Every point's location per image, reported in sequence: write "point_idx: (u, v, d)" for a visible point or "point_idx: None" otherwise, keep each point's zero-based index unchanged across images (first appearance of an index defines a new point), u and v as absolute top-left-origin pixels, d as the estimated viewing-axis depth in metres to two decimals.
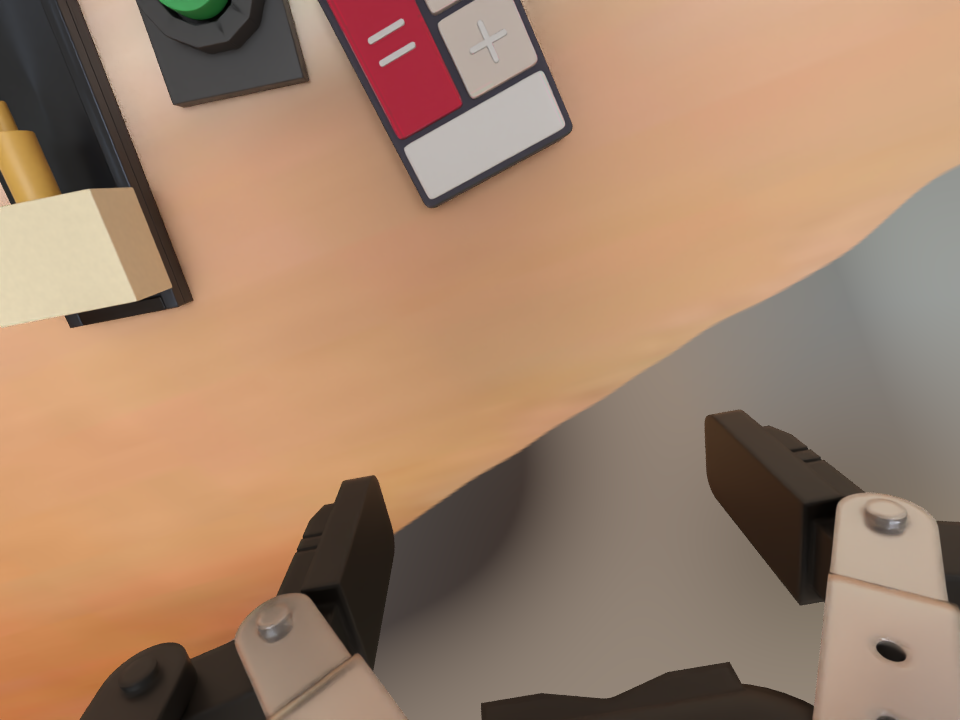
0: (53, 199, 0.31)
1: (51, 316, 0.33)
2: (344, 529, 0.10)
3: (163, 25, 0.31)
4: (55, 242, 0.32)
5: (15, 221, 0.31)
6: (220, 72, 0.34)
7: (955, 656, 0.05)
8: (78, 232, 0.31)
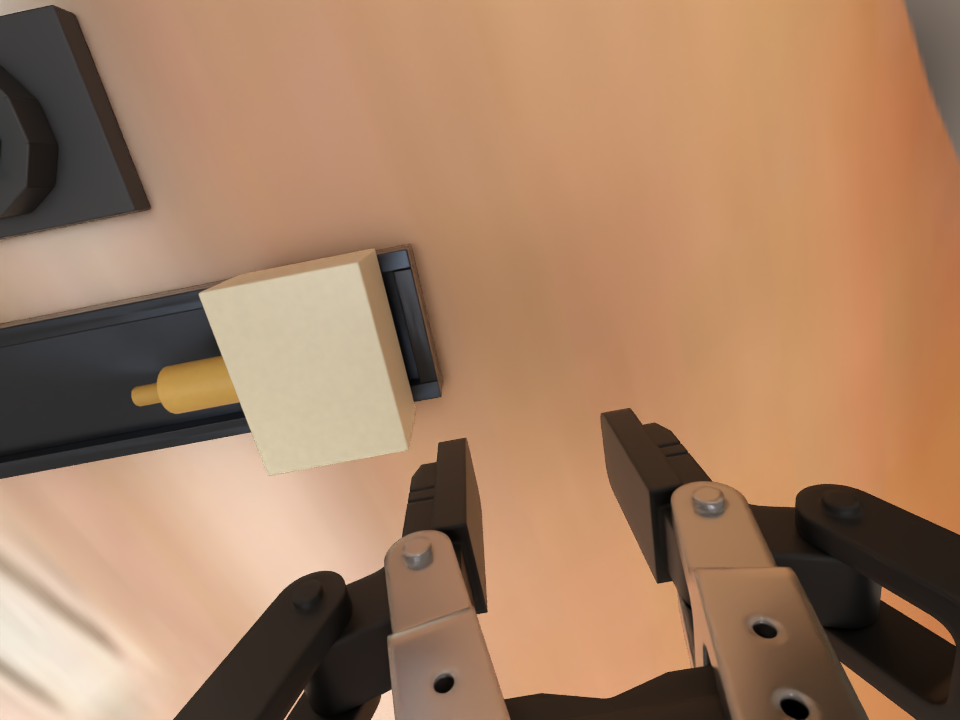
0: (220, 342, 0.22)
1: (389, 385, 0.23)
2: (455, 481, 0.11)
3: (14, 186, 0.24)
4: (280, 355, 0.23)
5: (258, 396, 0.23)
6: (77, 135, 0.25)
7: (808, 616, 0.06)
8: (261, 320, 0.22)
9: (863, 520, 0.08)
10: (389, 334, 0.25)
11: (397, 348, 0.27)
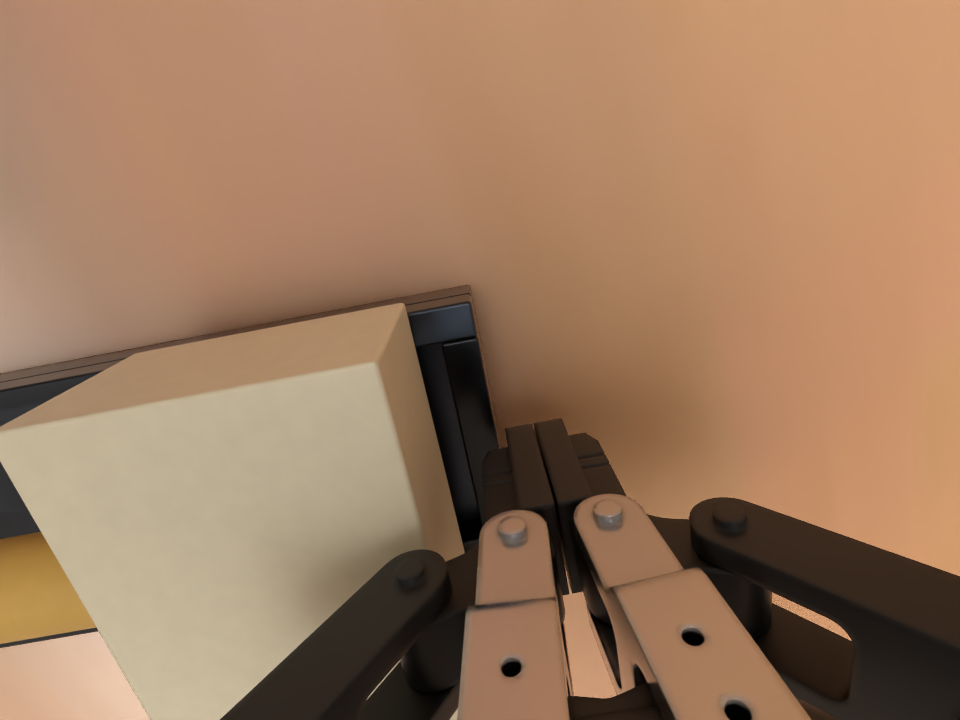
0: (53, 540, 0.10)
1: None
2: (532, 464, 0.11)
3: None
4: (196, 563, 0.10)
5: (151, 643, 0.11)
6: None
7: (725, 613, 0.06)
8: (146, 494, 0.09)
9: (747, 534, 0.08)
10: (434, 480, 0.12)
11: (445, 492, 0.14)
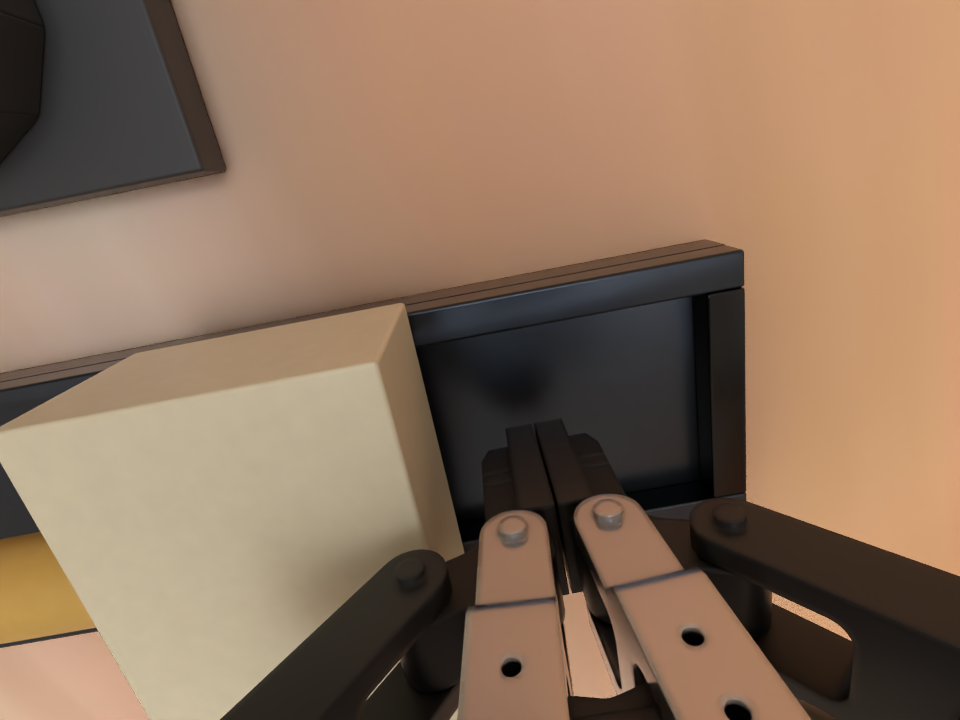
0: (53, 540, 0.10)
1: None
2: (532, 464, 0.11)
3: None
4: (196, 563, 0.10)
5: (151, 643, 0.11)
6: (87, 5, 0.12)
7: (725, 613, 0.06)
8: (146, 494, 0.09)
9: (746, 534, 0.08)
10: (434, 480, 0.12)
11: (445, 492, 0.14)
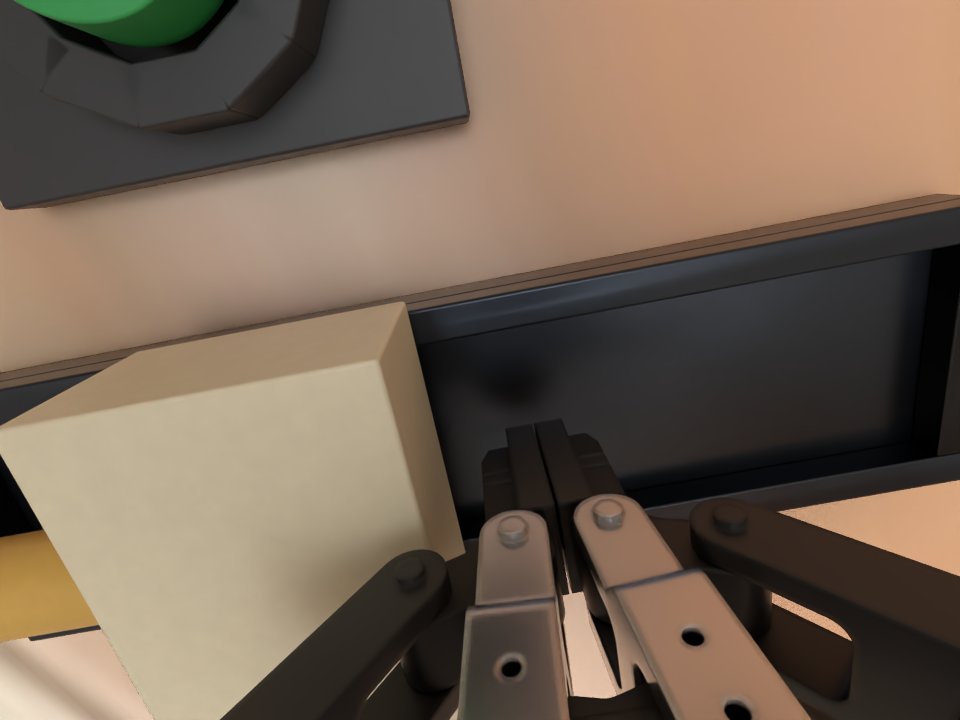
0: (56, 537, 0.10)
1: None
2: (532, 464, 0.11)
3: (266, 39, 0.10)
4: (198, 559, 0.10)
5: (153, 639, 0.11)
6: None
7: (725, 613, 0.06)
8: (148, 491, 0.09)
9: (746, 534, 0.08)
10: (435, 478, 0.12)
11: (446, 490, 0.14)
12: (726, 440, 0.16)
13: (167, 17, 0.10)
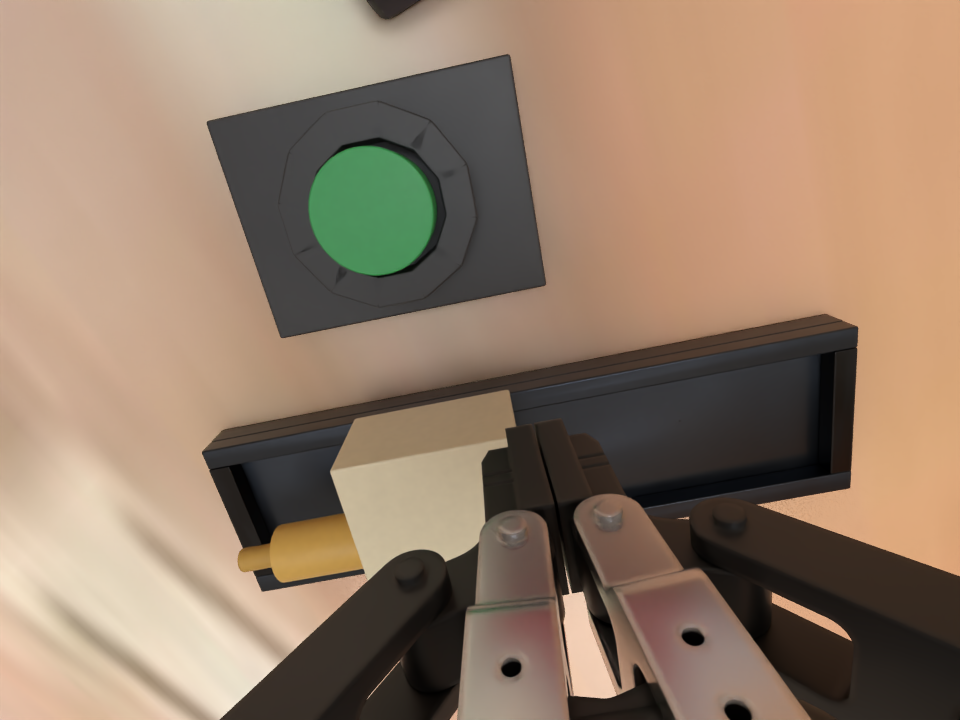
0: (351, 521, 0.19)
1: None
2: (532, 464, 0.11)
3: (448, 266, 0.20)
4: (419, 533, 0.20)
5: None
6: (501, 202, 0.21)
7: (726, 613, 0.06)
8: (400, 499, 0.19)
9: (746, 534, 0.08)
10: None
11: None
12: (699, 464, 0.26)
13: None
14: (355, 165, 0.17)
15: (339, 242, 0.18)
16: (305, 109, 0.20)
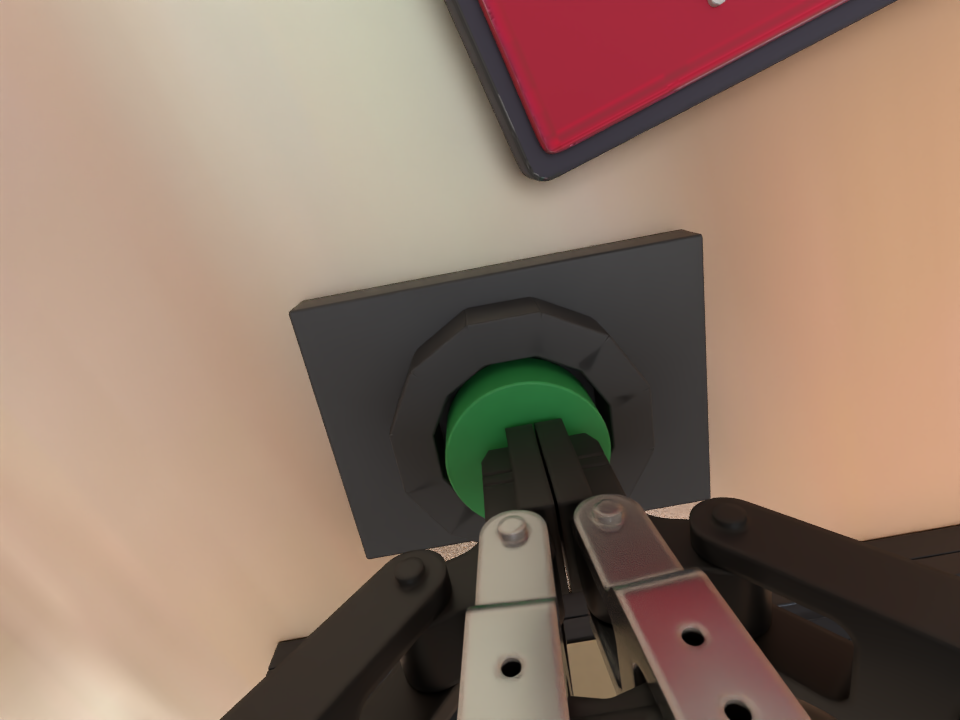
0: None
1: None
2: (532, 464, 0.11)
3: None
4: None
5: None
6: (668, 408, 0.16)
7: (726, 613, 0.06)
8: None
9: (747, 534, 0.08)
10: None
11: None
12: None
13: None
14: (515, 404, 0.13)
15: (482, 491, 0.14)
16: (424, 298, 0.15)
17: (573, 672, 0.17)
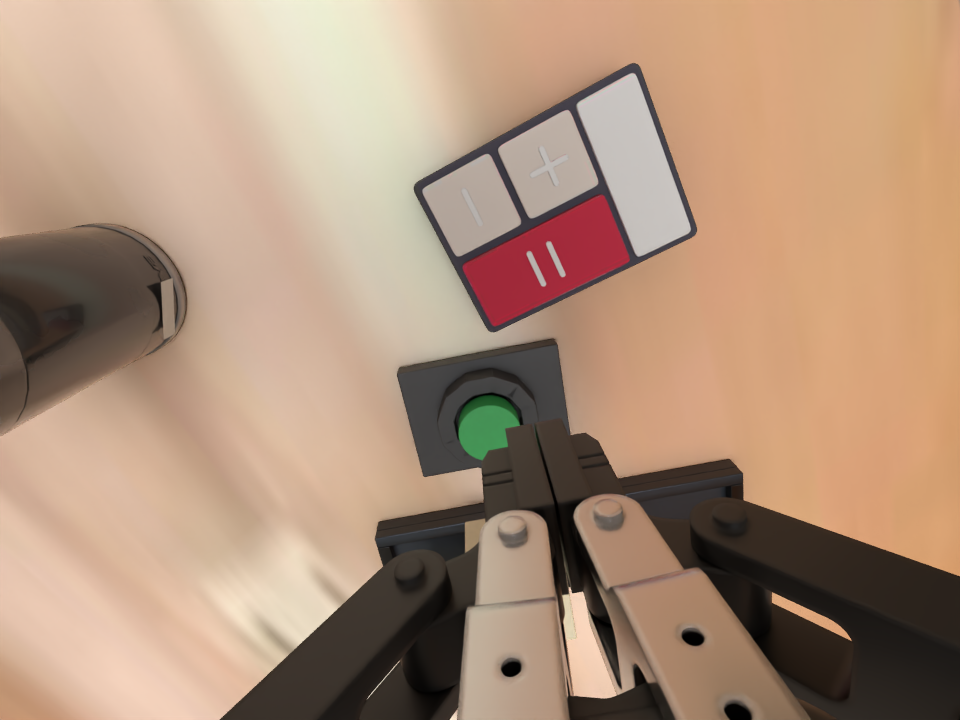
0: None
1: (569, 604, 0.39)
2: (532, 464, 0.11)
3: None
4: None
5: None
6: (550, 411, 0.39)
7: (726, 613, 0.06)
8: None
9: (746, 534, 0.08)
10: None
11: None
12: None
13: None
14: (484, 413, 0.35)
15: (472, 446, 0.36)
16: (449, 368, 0.38)
17: None
